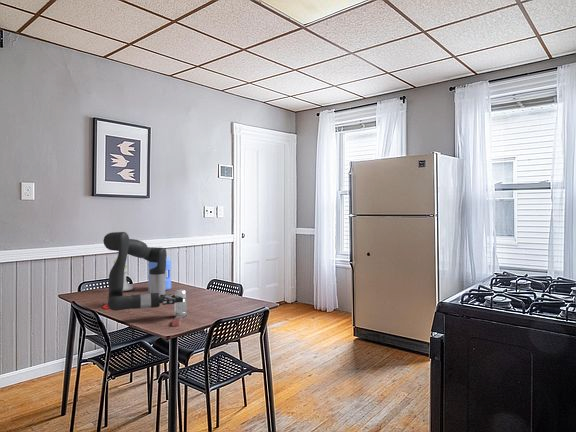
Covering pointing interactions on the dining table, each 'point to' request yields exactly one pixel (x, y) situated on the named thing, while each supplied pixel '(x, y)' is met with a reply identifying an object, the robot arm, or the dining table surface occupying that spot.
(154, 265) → the water jug
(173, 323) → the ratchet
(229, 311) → the dining table surface
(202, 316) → the dining table surface
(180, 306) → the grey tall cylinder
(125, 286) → the flower in vase
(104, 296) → the dining table surface
